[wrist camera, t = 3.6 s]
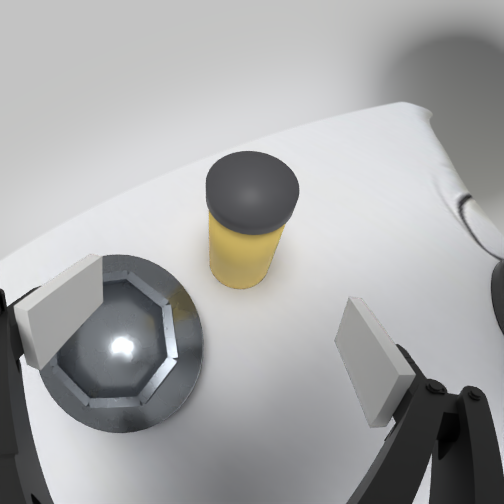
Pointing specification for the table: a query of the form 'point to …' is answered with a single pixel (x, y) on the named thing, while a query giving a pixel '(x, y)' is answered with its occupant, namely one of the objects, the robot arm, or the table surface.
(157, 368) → the grey round dish
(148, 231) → the table surface
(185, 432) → the table surface
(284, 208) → the capped yellow cylinder
